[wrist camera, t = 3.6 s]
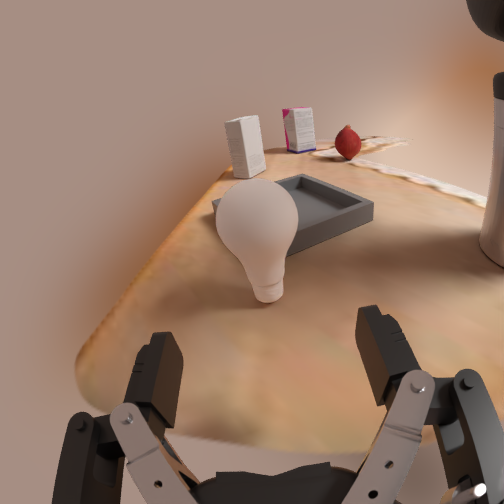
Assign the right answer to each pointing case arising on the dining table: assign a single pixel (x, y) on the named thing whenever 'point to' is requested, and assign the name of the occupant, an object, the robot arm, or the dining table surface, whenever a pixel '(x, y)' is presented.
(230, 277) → the dining table surface
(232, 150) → the skincare box
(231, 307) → the dining table surface
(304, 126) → the supplement box
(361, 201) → the parts tray
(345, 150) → the onion
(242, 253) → the lightbulb
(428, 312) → the dining table surface
